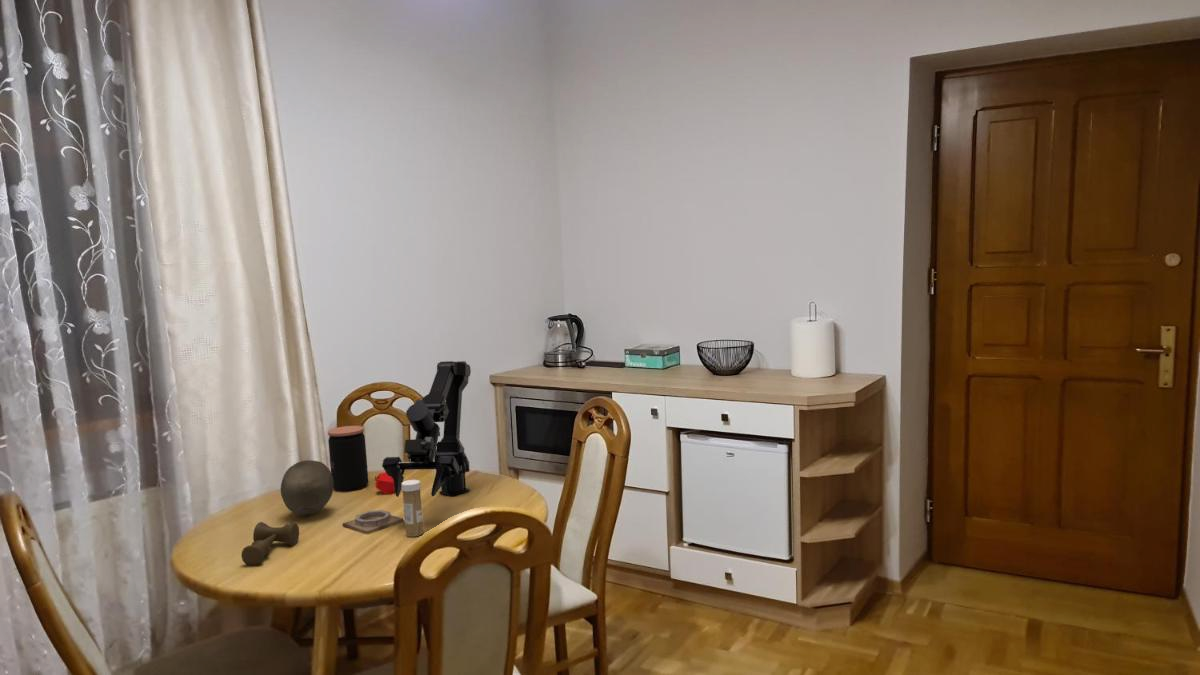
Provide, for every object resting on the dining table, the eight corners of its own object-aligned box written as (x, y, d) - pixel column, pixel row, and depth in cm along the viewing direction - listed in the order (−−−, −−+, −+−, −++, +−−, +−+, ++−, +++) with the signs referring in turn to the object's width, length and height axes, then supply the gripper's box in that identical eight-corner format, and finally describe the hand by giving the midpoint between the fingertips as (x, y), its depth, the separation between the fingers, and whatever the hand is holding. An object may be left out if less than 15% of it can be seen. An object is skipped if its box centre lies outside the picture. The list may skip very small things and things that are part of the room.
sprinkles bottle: (426, 534, 197) (422, 481, 196) (409, 538, 195) (405, 485, 194) (420, 529, 201) (416, 477, 200) (402, 533, 199) (398, 481, 197)
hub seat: (378, 514, 215) (377, 506, 215) (403, 521, 208) (402, 513, 208) (342, 526, 207) (342, 518, 206) (367, 534, 200) (366, 525, 200)
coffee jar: (342, 482, 249) (337, 425, 247) (374, 481, 248) (370, 425, 246) (326, 492, 239) (320, 433, 237) (359, 492, 237) (354, 433, 235)
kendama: (231, 569, 182) (269, 536, 202) (273, 569, 182) (307, 535, 202) (229, 544, 181) (267, 513, 201) (270, 544, 181) (305, 513, 201)
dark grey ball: (270, 521, 214) (265, 466, 213) (310, 505, 227) (305, 453, 225) (309, 526, 208) (304, 470, 207) (348, 509, 221) (343, 456, 219)
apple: (403, 469, 240) (377, 464, 237) (405, 479, 234) (378, 473, 231) (395, 490, 241) (369, 484, 238) (397, 500, 235) (371, 495, 232)
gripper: (381, 426, 204) (368, 480, 194) (452, 424, 202) (442, 479, 192) (395, 449, 212) (382, 502, 202) (463, 447, 210) (454, 501, 200)
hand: (414, 495), depth 199 cm, fingers open, 9 cm apart
